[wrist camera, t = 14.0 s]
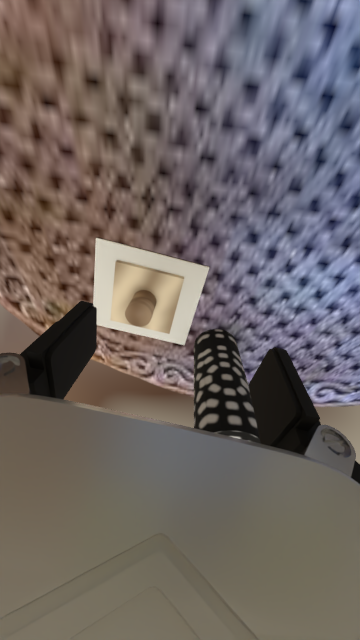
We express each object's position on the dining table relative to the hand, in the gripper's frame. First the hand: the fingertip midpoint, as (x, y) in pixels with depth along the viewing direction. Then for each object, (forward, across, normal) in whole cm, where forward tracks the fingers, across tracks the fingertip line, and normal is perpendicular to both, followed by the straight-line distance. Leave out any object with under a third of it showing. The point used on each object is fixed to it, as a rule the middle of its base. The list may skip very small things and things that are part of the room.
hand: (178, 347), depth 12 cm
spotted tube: (+25, -9, +18) cm, 32 cm away
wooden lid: (+24, +6, +11) cm, 27 cm away
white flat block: (+24, +6, +11) cm, 27 cm away
